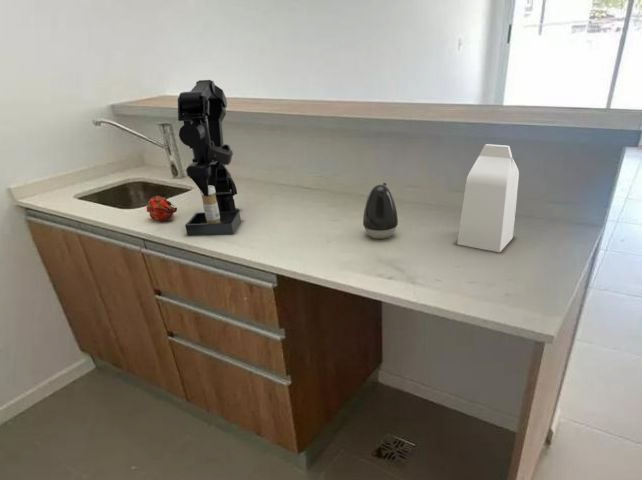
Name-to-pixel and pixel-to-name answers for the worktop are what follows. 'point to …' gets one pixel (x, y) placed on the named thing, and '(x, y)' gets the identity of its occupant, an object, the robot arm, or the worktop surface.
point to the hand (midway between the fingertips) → (210, 191)
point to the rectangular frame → (213, 224)
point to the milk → (490, 200)
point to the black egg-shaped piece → (380, 213)
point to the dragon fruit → (160, 208)
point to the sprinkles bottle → (211, 206)
